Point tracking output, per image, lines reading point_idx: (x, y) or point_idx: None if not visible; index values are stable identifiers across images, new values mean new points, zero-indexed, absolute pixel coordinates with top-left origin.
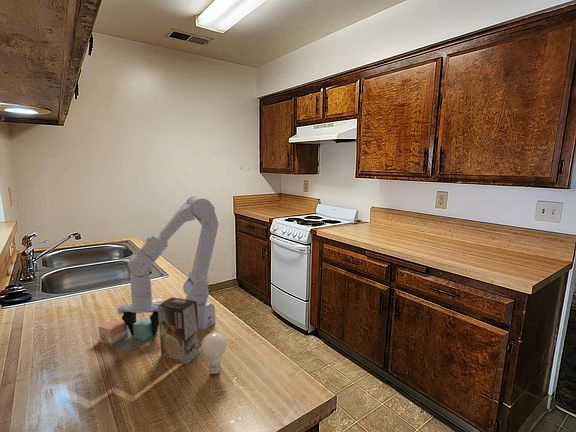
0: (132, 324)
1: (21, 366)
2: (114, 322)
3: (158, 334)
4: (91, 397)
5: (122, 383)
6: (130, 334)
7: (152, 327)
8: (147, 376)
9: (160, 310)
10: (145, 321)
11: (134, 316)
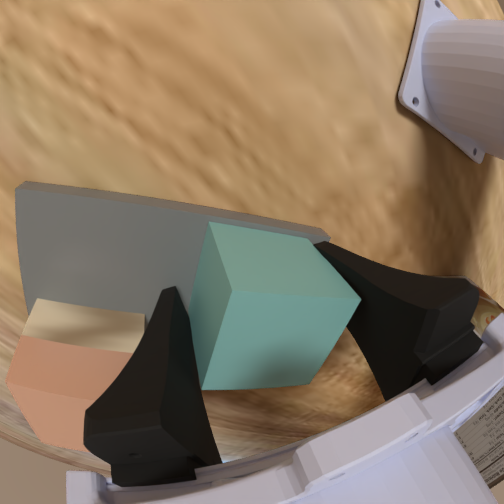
0: (194, 382)
1: (17, 437)
2: (69, 419)
3: (327, 238)
4: (272, 449)
5: (312, 420)
6: (134, 289)
7: (350, 329)
8: (359, 389)
9: (482, 474)
10: (285, 335)
11: (183, 402)
